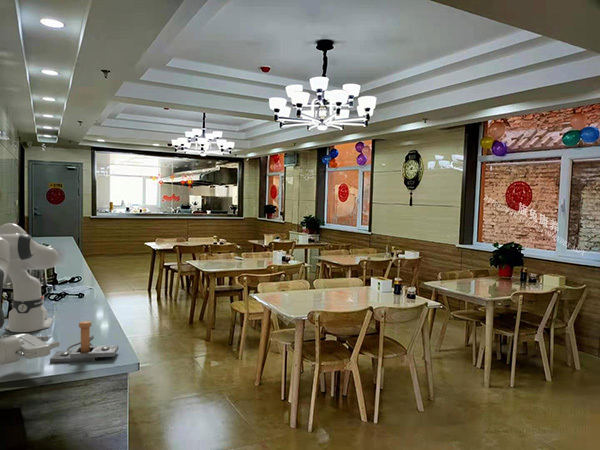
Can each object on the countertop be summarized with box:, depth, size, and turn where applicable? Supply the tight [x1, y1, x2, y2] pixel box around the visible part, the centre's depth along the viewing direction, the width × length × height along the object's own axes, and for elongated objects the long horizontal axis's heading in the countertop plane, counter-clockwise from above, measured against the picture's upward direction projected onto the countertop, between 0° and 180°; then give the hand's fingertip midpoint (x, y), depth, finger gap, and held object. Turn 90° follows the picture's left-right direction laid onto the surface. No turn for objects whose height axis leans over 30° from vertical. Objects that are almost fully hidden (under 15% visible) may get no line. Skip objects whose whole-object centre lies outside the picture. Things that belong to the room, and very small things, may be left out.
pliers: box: [66, 335, 94, 351], centre depth 193 cm, size 10×1×20 cm
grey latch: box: [49, 344, 119, 364], centre depth 177 cm, size 9×23×4 cm, turn 102°
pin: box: [78, 320, 92, 352], centre depth 176 cm, size 4×4×14 cm
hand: (53, 340), depth 167 cm, fingers open, 8 cm apart
